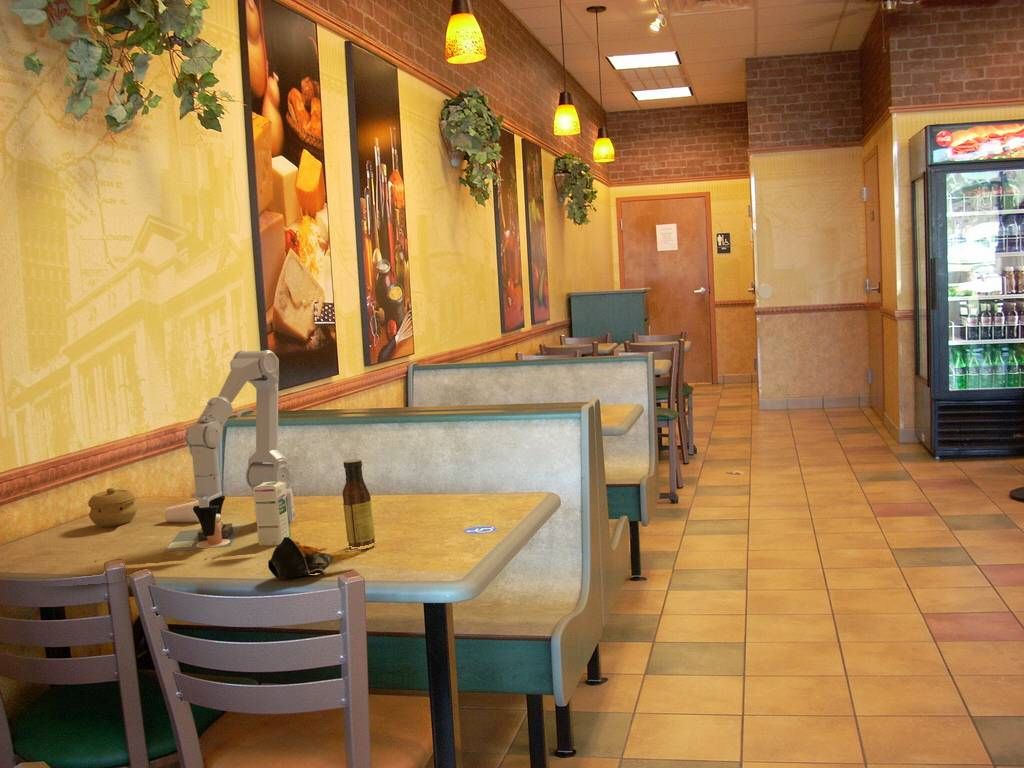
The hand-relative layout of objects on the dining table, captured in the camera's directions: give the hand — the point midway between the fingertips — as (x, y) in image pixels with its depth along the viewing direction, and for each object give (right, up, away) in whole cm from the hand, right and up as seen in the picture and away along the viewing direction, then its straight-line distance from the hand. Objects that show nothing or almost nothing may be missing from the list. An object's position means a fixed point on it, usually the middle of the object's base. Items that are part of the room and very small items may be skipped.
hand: (212, 531), depth 248 cm
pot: (-34, -3, +30) cm, 45 cm away
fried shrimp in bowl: (+29, -5, -28) cm, 41 cm away
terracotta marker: (+1, -3, 0) cm, 3 cm away
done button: (-1, -1, +8) cm, 8 cm away
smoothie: (-19, +1, +27) cm, 33 cm away
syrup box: (+15, -3, -1) cm, 15 cm away
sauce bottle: (+36, -3, -8) cm, 37 cm away
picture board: (-3, -3, +6) cm, 8 cm away
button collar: (-1, -3, +8) cm, 8 cm away
